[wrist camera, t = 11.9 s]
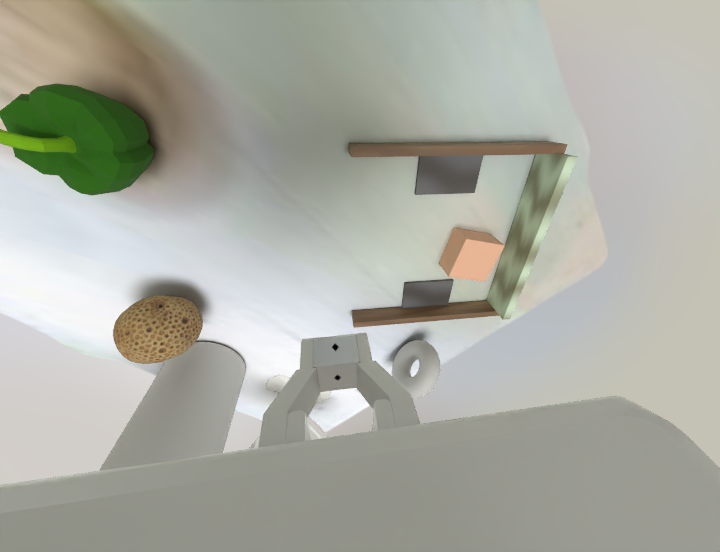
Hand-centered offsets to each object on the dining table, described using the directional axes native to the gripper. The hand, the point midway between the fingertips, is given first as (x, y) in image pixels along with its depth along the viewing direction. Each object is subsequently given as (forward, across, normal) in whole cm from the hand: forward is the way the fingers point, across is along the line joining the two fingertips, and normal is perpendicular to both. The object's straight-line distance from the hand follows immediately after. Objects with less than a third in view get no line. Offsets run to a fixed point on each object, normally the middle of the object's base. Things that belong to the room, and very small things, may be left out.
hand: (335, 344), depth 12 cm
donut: (+24, -14, +30) cm, 41 cm away
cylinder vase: (+24, +22, +30) cm, 45 cm away
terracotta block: (+24, -20, +10) cm, 33 cm away
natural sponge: (+25, +22, +16) cm, 37 cm away
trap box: (+24, -16, +8) cm, 30 cm away
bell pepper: (+26, +20, -6) cm, 33 cm away
